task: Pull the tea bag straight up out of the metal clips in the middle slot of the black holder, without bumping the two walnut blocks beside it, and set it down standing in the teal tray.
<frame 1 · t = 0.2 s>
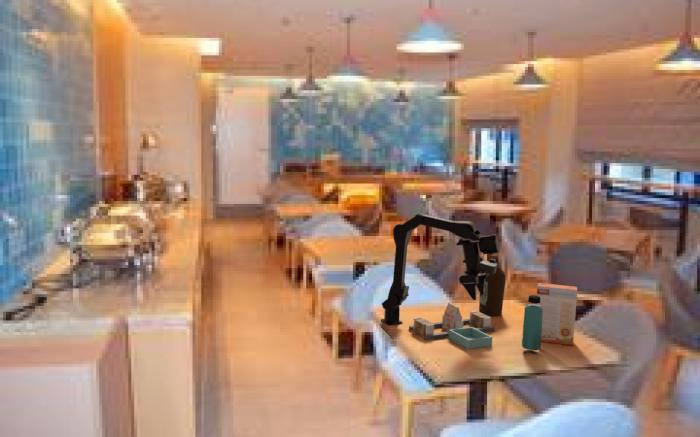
hand: (478, 297, 235), 15 cm above the table, tool pointing down, fingers open, 9 cm apart
tea bag: (452, 331, 242), on the table
beverage bottle: (530, 351, 222), on the table
walnut block 2: (479, 327, 248), on the table
clip holder: (452, 330, 242), on the table
teal tray: (469, 342, 229), on the table
walnut block 1: (423, 334, 237), on the table
cracker box: (552, 341, 234), on the table
olive oil: (490, 313, 267), on the table
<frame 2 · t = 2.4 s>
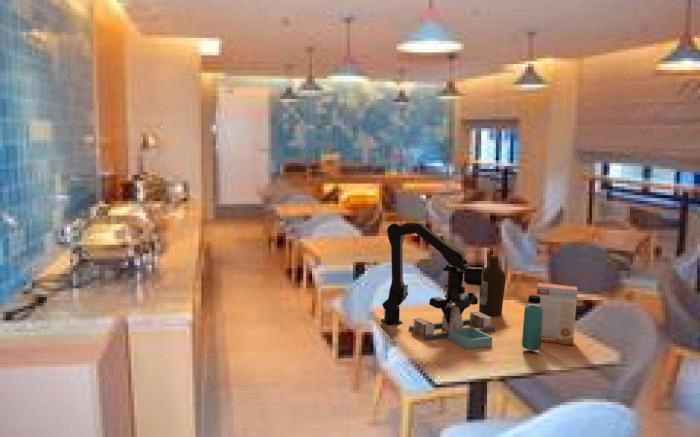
hand: (452, 322, 242), 3 cm above the table, tool pointing down, fingers closed on tea bag, 4 cm apart
tea bag: (452, 331, 242), on the table, touching gripper
everything else where it was.
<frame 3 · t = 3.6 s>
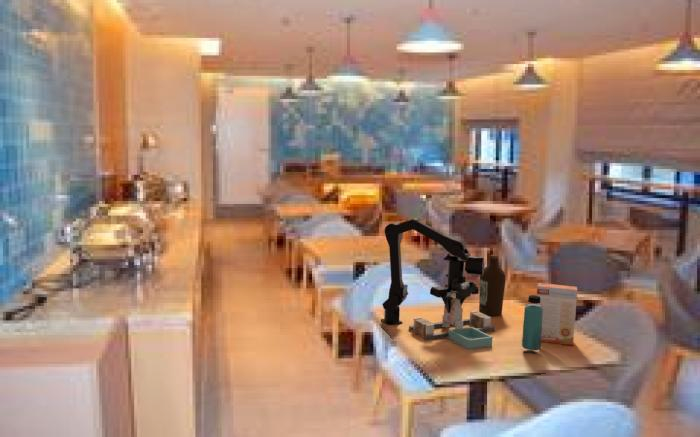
hand: (453, 312, 241), 7 cm above the table, tool pointing down, fingers closed on tea bag, 4 cm apart
tea bag: (452, 323, 242), point 3 cm above the table, touching gripper
everything else where it was.
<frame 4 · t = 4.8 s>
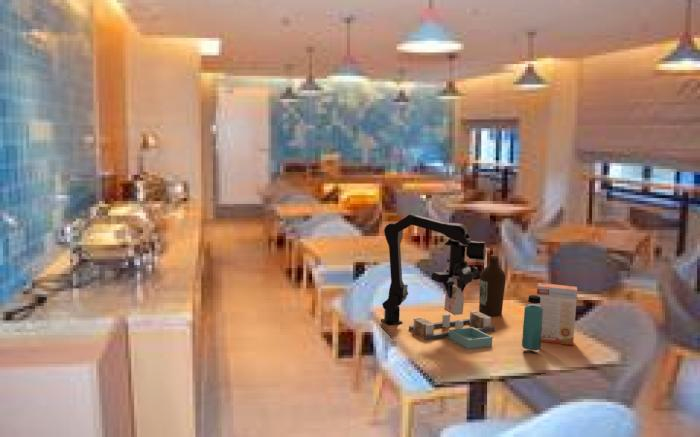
hand: (454, 297, 240), 13 cm above the table, tool pointing down, fingers closed on tea bag, 4 cm apart
tea bag: (453, 312, 241), point 7 cm above the table, touching gripper
everything else where it was.
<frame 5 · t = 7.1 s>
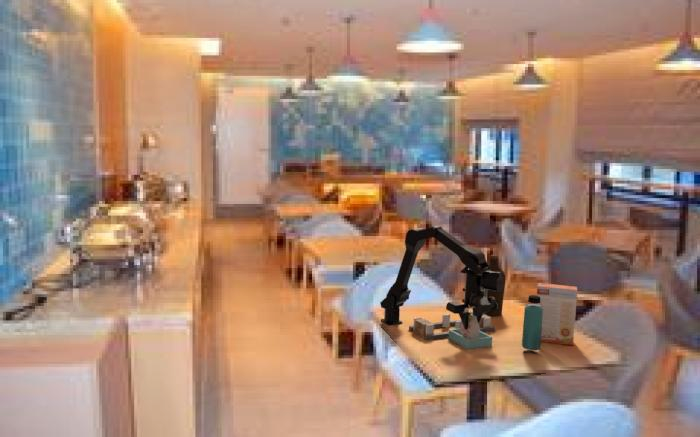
hand: (470, 328, 228), 5 cm above the table, tool pointing down, fingers closed on tea bag, 4 cm apart
tea bag: (468, 341, 229), resting on teal tray, touching gripper
everything else where it was.
when the fingers open (5 cm above the table, at t = 7.2 s): tea bag stays where it is, resting on teal tray.
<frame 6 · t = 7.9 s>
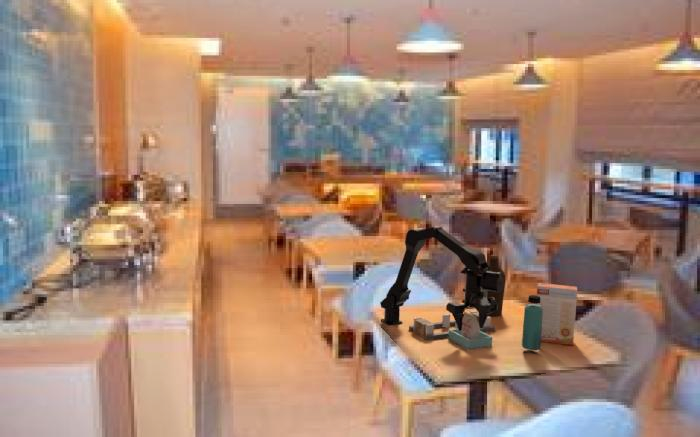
hand: (470, 329, 228), 5 cm above the table, tool pointing down, fingers open, 9 cm apart
tea bag: (468, 341, 229), resting on teal tray
everything else where it was.
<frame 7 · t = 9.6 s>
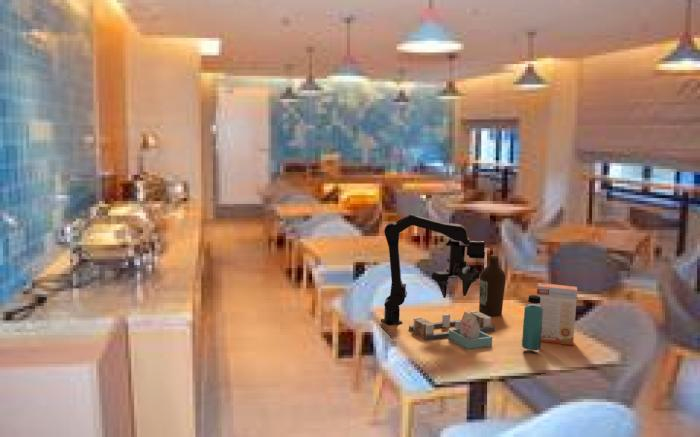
hand: (454, 296, 245), 12 cm above the table, tool pointing down, fingers open, 9 cm apart
nothing on the table moved.
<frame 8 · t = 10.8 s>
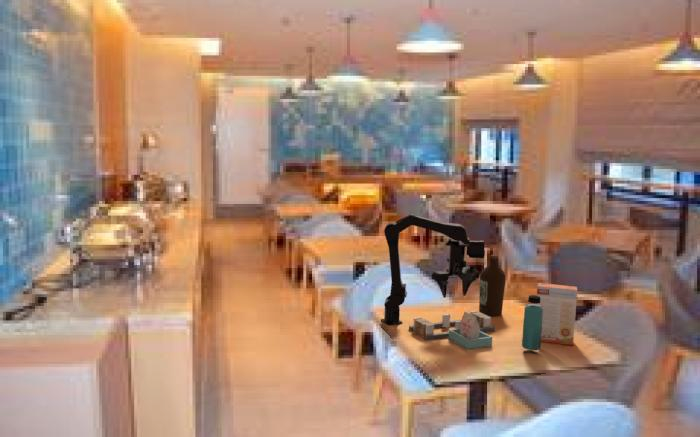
hand: (454, 296, 245), 12 cm above the table, tool pointing down, fingers open, 9 cm apart
nothing on the table moved.
at the end: tea bag inside the target area on the teal tray (0.6 cm from its centre), point 0.3 cm above the teal tray's base; walnut block 1 moved 0.1 cm from its start; walnut block 2 moved 0.1 cm from its start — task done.
